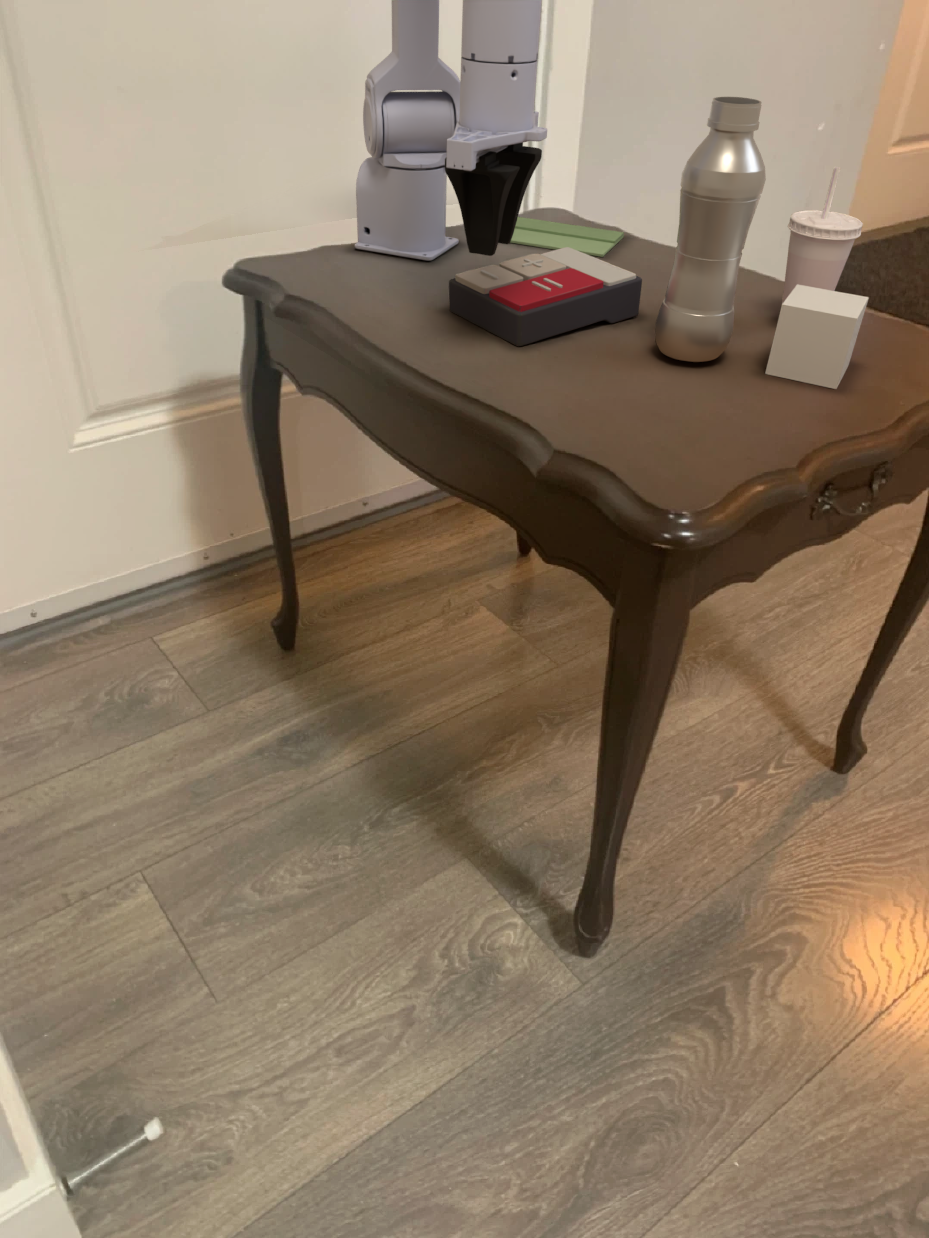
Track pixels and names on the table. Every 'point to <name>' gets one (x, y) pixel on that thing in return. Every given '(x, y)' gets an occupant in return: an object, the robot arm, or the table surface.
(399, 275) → the table surface
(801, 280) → the smoothie
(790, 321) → the off-white cube
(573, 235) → the cloth
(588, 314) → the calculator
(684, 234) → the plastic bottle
